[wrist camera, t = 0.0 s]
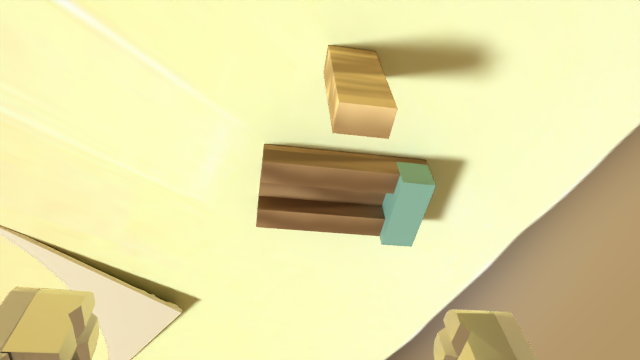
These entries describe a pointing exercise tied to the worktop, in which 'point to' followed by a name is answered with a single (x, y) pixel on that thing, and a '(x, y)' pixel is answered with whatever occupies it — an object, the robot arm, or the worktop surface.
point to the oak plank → (358, 93)
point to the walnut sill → (343, 193)
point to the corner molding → (106, 299)
